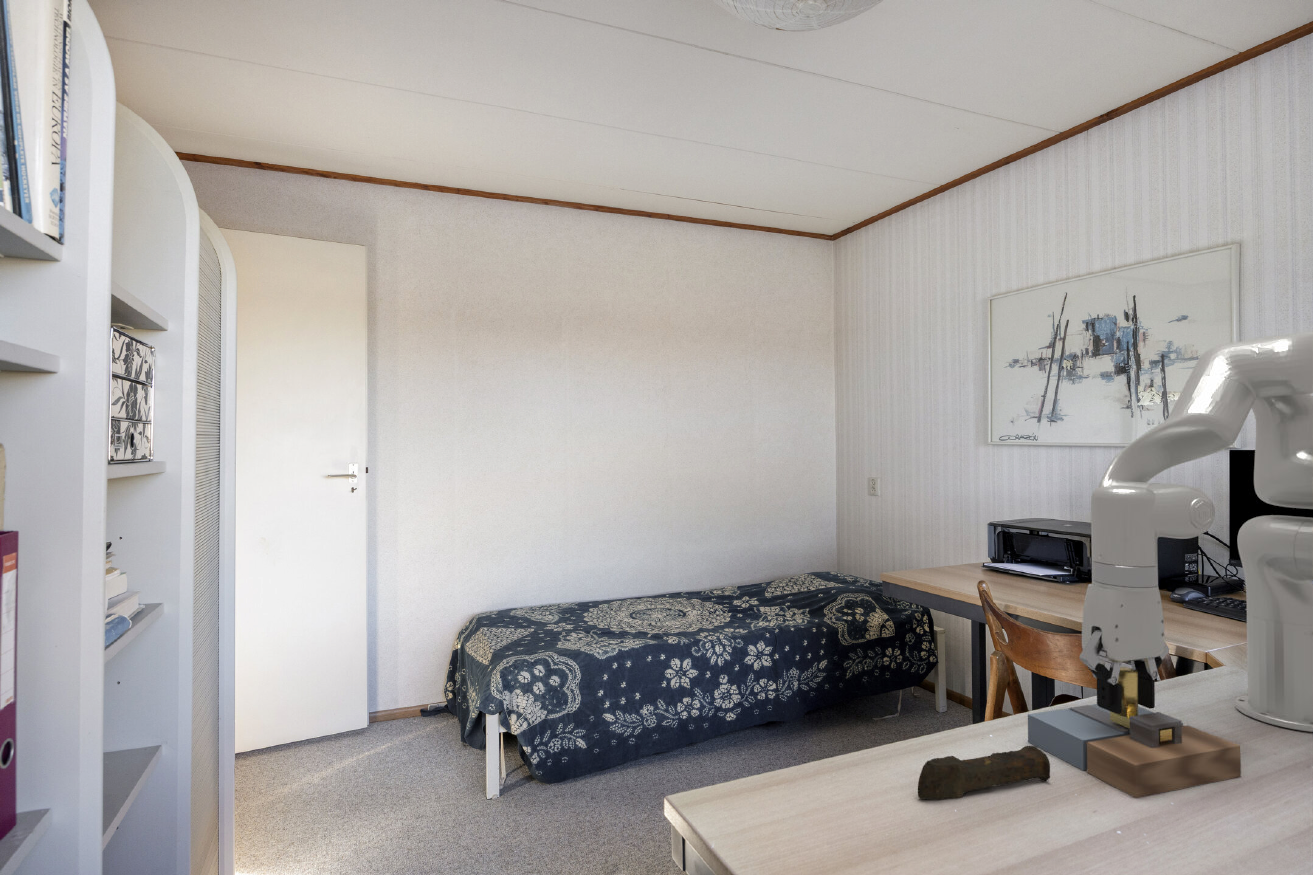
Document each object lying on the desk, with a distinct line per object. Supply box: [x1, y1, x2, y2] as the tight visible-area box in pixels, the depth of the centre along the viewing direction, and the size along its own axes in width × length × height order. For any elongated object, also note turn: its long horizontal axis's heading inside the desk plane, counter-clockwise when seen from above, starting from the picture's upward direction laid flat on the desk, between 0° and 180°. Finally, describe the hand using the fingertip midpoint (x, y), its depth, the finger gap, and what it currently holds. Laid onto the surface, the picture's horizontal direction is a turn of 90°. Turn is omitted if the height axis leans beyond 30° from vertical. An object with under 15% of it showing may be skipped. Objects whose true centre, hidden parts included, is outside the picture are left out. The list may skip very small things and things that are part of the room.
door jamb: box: [1086, 711, 1242, 799], centre depth 88 cm, size 18×7×7 cm, turn 106°
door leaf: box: [1027, 703, 1184, 771], centre depth 96 cm, size 18×9×4 cm, turn 106°
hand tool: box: [917, 745, 1051, 801], centre depth 85 cm, size 19×4×5 cm, turn 105°
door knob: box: [1110, 666, 1172, 742], centre depth 91 cm, size 3×7×7 cm, turn 16°
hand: (1125, 705), depth 93 cm, fingers open, 5 cm apart
